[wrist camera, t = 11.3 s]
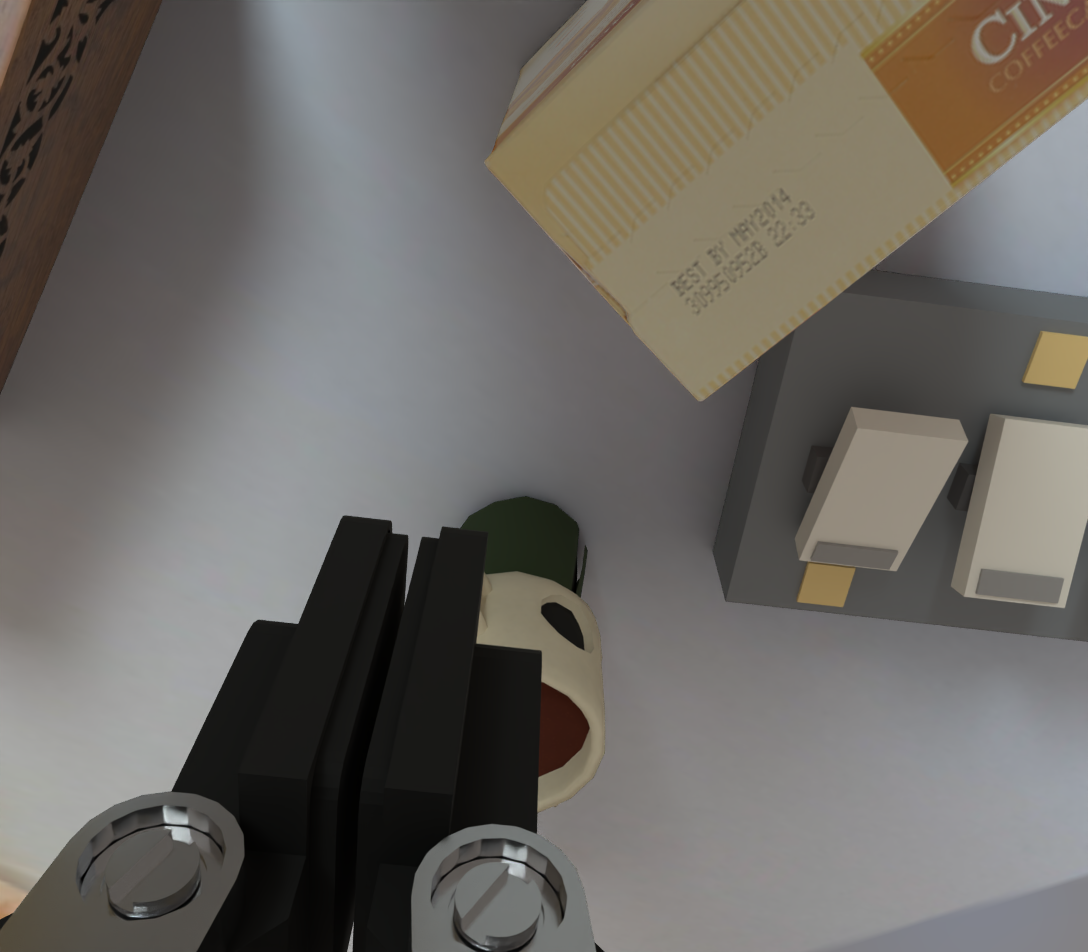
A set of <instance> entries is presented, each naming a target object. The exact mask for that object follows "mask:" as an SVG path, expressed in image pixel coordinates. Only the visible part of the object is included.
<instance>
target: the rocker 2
mask: <svg viewBox="0 0 1088 952" xmlns="http://www.w3.org/2000/svg"><path fill="white" fill-rule="evenodd" d="M1087 519H1088V425H1081V424H1073V423H1065V422H1056V421H1048V420H1040V419H1032V418H1023V417H1015V416H1007V415H999V414H990V416H989V420H988V425H987V429H986V434H985V438H984V442H983V447H982V451H981V455H980V460H979V464H978V469H977V473H976V477H975V482H974V486H973V491H972V495H971V499H970V504H969V508H968V512H967V517H966V521H965V526H964V530H963V534H962V539H961V543H960V548H959V552H958V556H957V561H956V565H955V569H954V574H953V578H952V583H951V587H952V588H953V589H955V590H956V591H957V592H959V593H960V594H961V595H962V596H964V597H971V598H980V599H988V600H997V601H1006V602H1015V603H1024V604H1033V605H1042V606H1050V607H1059V608H1065V605H1066V601H1067V597H1068V593H1069V589H1070V585H1071V582H1072V578H1073V574H1074V570H1075V566H1076V562H1077V558H1078V554H1079V551H1080V547H1081V543H1082V539H1083V535H1084V531H1085V527H1086V523H1087Z"/></svg>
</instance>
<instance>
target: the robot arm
mask: <svg viewBox="0 0 1088 952" xmlns="http://www.w3.org/2000/svg"><path fill="white" fill-rule="evenodd" d="M487 542H488V532H486V531H477V530H468V529H459V528H451V527H442V529H441V533H440V538H439V539H438V538H429V537H422V539H421V543H420V547H419V551H418V555H417V559H416V563H415V567H414V571H413V575H412V578H411V582H410V586H409V590H408V594H407V598H406V602H405V588H406V572H407V557H408V535H402V534H393V533H392V522H391V521H389V520H380V519H371V518H362V517H354V516H343V517H342V519H341V520H340V523H339V525H338V528H337V530H336V533H335V535H334V538H333V540H332V542H331V545H330V547H329V550H328V552H327V555H326V557H325V560H324V562H323V565H322V567H321V569H320V572H319V574H318V577H317V579H316V582H315V584H314V587H313V589H312V592H311V594H310V596H309V599H308V601H307V604H306V606H305V609H304V611H303V614H302V616H301V618H300V621H299V623H298V624H293V623H284V622H275V621H266V620H257V621H255V622H254V623H253V624H252V626H251V628H250V629H249V631H248V633H247V635H246V637H245V639H244V641H243V643H242V645H241V647H240V649H239V652H238V654H237V656H236V658H235V660H234V662H233V664H232V666H231V668H230V670H229V672H228V674H227V677H226V679H225V681H224V683H223V685H222V687H221V689H220V691H219V693H218V695H217V697H216V699H215V702H214V704H213V706H212V708H211V710H210V712H209V714H208V716H207V718H206V720H205V722H204V724H203V727H202V729H201V731H200V733H199V735H198V737H197V739H196V741H195V743H194V745H193V747H192V749H191V752H190V754H189V756H188V758H187V760H186V762H185V764H184V766H183V768H182V770H181V772H180V774H179V777H178V779H177V781H176V783H175V785H174V787H173V789H172V791H171V792H163V793H155V794H148V795H141V796H139V797H136V798H133V799H130V800H127V801H125V802H122V803H119V804H116V805H114V806H112V807H111V808H109V809H107V810H106V811H104V812H102V813H101V814H99V815H98V816H96V817H94V818H93V819H91V820H90V821H89V822H88V823H87V824H85V825H84V826H83V827H82V828H81V829H80V830H79V831H78V832H77V833H76V834H75V835H74V836H73V837H72V838H71V839H70V840H69V842H68V843H67V844H66V846H65V847H64V848H63V850H62V851H61V852H60V853H59V855H58V856H57V857H56V859H55V860H54V861H53V862H52V864H51V865H50V866H49V868H48V869H47V870H46V871H45V873H44V874H43V875H42V877H41V878H40V879H39V881H38V882H37V883H36V884H35V886H34V887H33V888H32V890H31V891H30V892H29V893H28V895H27V896H26V897H25V899H24V900H23V901H22V903H21V904H20V905H19V906H18V908H17V909H16V910H15V912H14V913H12V914H10V915H8V916H6V917H4V918H2V919H0V952H347V949H348V945H349V940H350V936H351V931H352V927H353V922H354V931H353V952H604V951H603V950H602V949H601V948H600V947H599V946H598V945H597V944H596V943H595V942H594V937H593V932H592V927H591V922H590V917H589V912H588V907H587V901H586V896H585V891H584V888H583V886H582V883H581V880H580V878H579V875H578V872H577V870H576V868H575V867H574V865H573V864H572V863H571V862H570V860H569V859H568V858H567V857H566V855H565V854H564V853H563V852H562V850H561V849H559V848H558V847H556V846H555V845H554V844H552V843H551V842H549V841H548V840H547V839H545V838H544V837H542V836H541V835H538V834H537V809H538V777H539V744H540V712H541V679H542V651H541V650H532V649H523V648H514V647H505V646H496V645H486V644H477V643H476V641H477V632H478V623H479V614H480V605H481V596H482V587H483V578H484V569H485V560H486V551H487ZM404 603H405V606H404Z"/></svg>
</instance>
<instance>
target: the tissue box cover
mask: <svg viewBox="0 0 1088 952" xmlns="http://www.w3.org/2000/svg"><path fill="white" fill-rule="evenodd" d="M161 3H162V0H0V394H1V391H2V389H3V386H4V384H5V382H6V379H7V377H8V374H9V372H10V369H11V367H12V365H13V362H14V360H15V357H16V355H17V352H18V350H19V348H20V345H21V343H22V340H23V338H24V335H25V333H26V331H27V328H28V326H29V323H30V321H31V318H32V316H33V314H34V311H35V309H36V306H37V304H38V301H39V299H40V296H41V294H42V292H43V289H44V287H45V284H46V282H47V279H48V277H49V275H50V272H51V270H52V267H53V265H54V262H55V260H56V258H57V255H58V253H59V250H60V248H61V245H62V243H63V241H64V238H65V236H66V233H67V231H68V228H69V226H70V224H71V221H72V219H73V216H74V214H75V211H76V209H77V207H78V204H79V202H80V199H81V197H82V194H83V192H84V190H85V187H86V185H87V182H88V180H89V177H90V175H91V173H92V170H93V168H94V165H95V163H96V160H97V158H98V156H99V153H100V151H101V148H102V146H103V143H104V141H105V139H106V136H107V134H108V131H109V129H110V126H111V124H112V122H113V119H114V117H115V114H116V112H117V109H118V107H119V105H120V102H121V100H122V97H123V95H124V92H125V90H126V88H127V85H128V83H129V80H130V78H131V75H132V73H133V71H134V68H135V66H136V63H137V61H138V58H139V56H140V54H141V51H142V49H143V46H144V44H145V41H146V39H147V37H148V34H149V32H150V29H151V27H152V24H153V22H154V20H155V17H156V15H157V12H158V10H159V7H160V5H161Z"/></svg>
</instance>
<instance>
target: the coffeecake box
mask: <svg viewBox="0 0 1088 952" xmlns="http://www.w3.org/2000/svg"><path fill="white" fill-rule="evenodd" d="M1086 99H1088V0H587V1H586V2H585V3H584V4H583V5H582V7H581V8H580V9H579V10H578V11H577V12H576V13H575V14H574V15H573V16H572V17H571V18H570V19H569V20H568V21H567V22H566V23H565V24H564V25H563V26H562V27H561V28H560V29H559V30H558V31H557V32H556V33H555V34H554V35H553V36H552V37H551V38H550V39H549V40H548V41H547V42H546V43H545V44H544V45H543V46H542V47H541V48H540V49H539V50H538V52H537V53H536V54H535V55H534V56H533V57H532V58H531V59H530V60H529V61H528V62H527V63H526V64H525V65H524V66H523V68H522V69H521V70H520V76H519V80H518V83H517V85H516V87H515V90H514V93H513V95H512V98H511V101H510V104H509V107H508V109H507V112H506V115H505V117H504V120H503V122H502V125H501V128H500V130H499V133H498V136H497V139H496V142H495V146H494V148H493V151H492V153H491V154H490V155H489V156H488V158H487V159H486V160H485V165H486V167H487V168H488V169H489V170H490V172H491V173H492V174H493V175H494V176H495V177H496V178H497V179H498V180H499V181H500V182H501V184H502V185H503V186H504V187H505V188H506V189H507V190H508V191H509V192H510V193H511V195H512V196H513V197H514V198H515V199H516V200H517V201H518V202H519V203H520V205H521V206H522V207H523V208H524V209H525V210H526V211H527V212H528V214H529V215H530V216H531V217H532V218H533V219H534V220H535V221H536V223H537V224H538V225H539V226H540V227H541V228H542V229H543V230H544V231H545V233H546V234H547V235H548V236H549V237H550V238H551V239H552V240H553V242H554V243H555V244H556V245H557V246H558V247H559V248H560V249H561V251H562V252H563V253H564V254H565V255H566V256H567V257H568V258H569V259H570V261H571V262H572V263H573V264H574V265H575V266H576V267H577V268H578V270H579V271H580V272H581V273H582V274H583V275H584V276H585V277H586V279H587V280H588V281H589V282H590V283H591V284H592V285H593V286H594V287H595V289H596V290H597V291H598V292H599V293H600V294H601V295H602V296H603V297H604V298H605V300H606V301H607V302H608V303H609V304H610V305H611V306H612V307H613V308H614V309H615V311H616V312H617V313H618V314H619V315H620V316H621V317H622V318H623V319H624V320H625V321H626V323H627V324H628V325H629V326H630V327H631V328H632V330H633V332H634V334H635V335H636V336H637V337H638V338H639V339H640V340H641V341H642V342H643V343H644V344H645V345H646V346H647V347H648V348H649V349H650V350H651V351H652V353H653V354H654V355H655V356H656V357H657V358H658V359H659V360H660V361H661V362H662V363H663V364H664V365H665V367H666V368H667V369H668V370H669V371H670V372H671V373H672V374H673V375H674V376H675V377H676V378H677V379H678V380H679V382H680V383H681V384H682V385H683V386H684V387H685V388H686V389H687V390H688V391H689V392H690V393H691V394H692V395H693V396H694V397H695V398H696V399H697V401H699V402H700V401H704V400H705V399H706V398H707V397H709V396H710V395H711V394H713V393H714V392H715V391H716V390H718V389H719V388H720V387H722V386H723V385H724V384H726V383H727V382H728V381H729V380H731V379H732V378H733V377H735V376H736V375H737V374H738V373H740V372H741V371H742V370H743V369H745V368H746V367H747V366H749V365H750V364H751V363H752V362H754V361H755V360H756V359H758V358H759V357H760V356H761V355H763V354H764V353H765V352H766V351H768V350H769V349H770V348H772V347H773V346H774V345H775V344H777V343H778V342H779V341H780V340H782V339H783V338H784V337H786V336H787V335H788V334H789V333H791V332H792V331H793V330H795V329H796V328H797V327H798V326H800V325H801V324H802V323H804V322H805V321H806V320H807V319H809V318H810V317H811V316H813V315H814V314H815V313H816V312H818V311H819V310H820V309H822V308H823V307H824V306H825V305H827V304H828V303H829V302H830V301H832V300H833V299H834V298H835V297H837V296H838V295H839V294H840V293H842V292H843V291H844V290H845V289H847V288H848V287H849V286H850V285H852V284H853V283H854V282H855V281H857V280H858V279H859V278H861V277H862V276H863V275H864V274H866V273H867V272H868V271H870V270H871V269H872V268H873V267H875V266H876V265H877V264H879V263H880V262H881V261H882V260H884V259H885V258H886V257H887V256H889V255H890V254H891V253H893V252H894V251H895V250H896V249H898V248H899V247H900V246H901V245H903V244H904V243H905V242H906V241H908V240H909V239H910V238H912V237H913V236H914V235H915V234H917V233H918V232H919V231H920V230H922V229H923V228H924V227H926V226H927V225H928V224H929V223H931V222H932V221H933V220H934V219H936V218H937V217H938V216H939V215H941V214H942V213H943V212H945V211H946V210H947V209H948V208H950V207H951V206H952V205H953V204H955V203H956V202H957V201H958V200H960V199H961V198H962V197H964V196H965V195H966V194H967V193H969V192H970V191H971V190H972V189H974V188H975V187H976V186H978V185H979V184H980V183H982V182H983V181H984V180H985V179H986V178H988V177H989V176H990V175H991V174H993V173H994V172H995V171H996V170H998V169H999V168H1000V167H1002V166H1003V165H1004V164H1005V163H1007V162H1008V161H1009V160H1010V159H1012V158H1013V157H1014V156H1015V155H1017V154H1018V153H1019V152H1021V151H1022V150H1023V149H1024V148H1026V147H1027V146H1028V145H1029V144H1031V143H1032V142H1033V141H1034V140H1036V139H1037V138H1038V137H1040V136H1041V135H1042V134H1043V133H1045V132H1046V131H1047V130H1048V129H1050V128H1051V127H1052V126H1053V125H1055V124H1056V123H1057V122H1059V121H1060V120H1061V119H1062V118H1064V117H1065V116H1066V115H1067V114H1069V113H1070V112H1071V111H1072V110H1074V109H1075V108H1076V107H1078V106H1079V105H1080V104H1081V103H1083V102H1084V101H1085V100H1086Z"/></svg>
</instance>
